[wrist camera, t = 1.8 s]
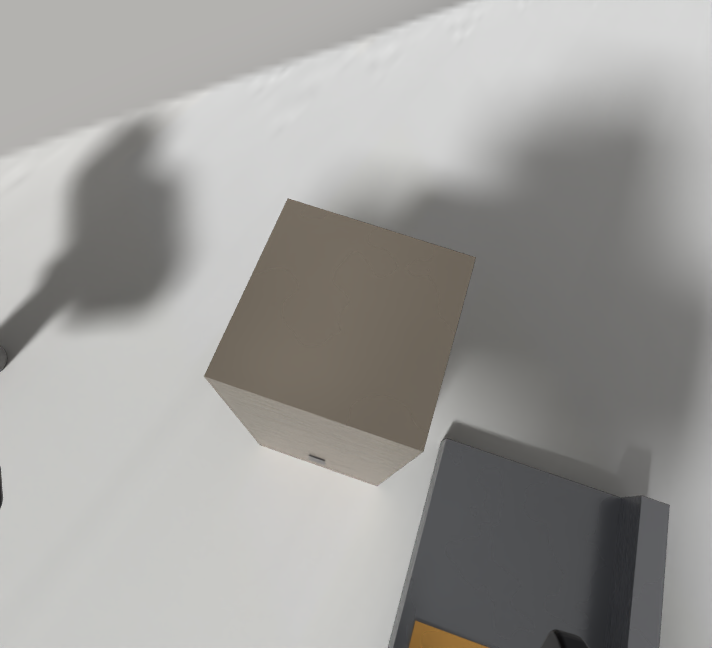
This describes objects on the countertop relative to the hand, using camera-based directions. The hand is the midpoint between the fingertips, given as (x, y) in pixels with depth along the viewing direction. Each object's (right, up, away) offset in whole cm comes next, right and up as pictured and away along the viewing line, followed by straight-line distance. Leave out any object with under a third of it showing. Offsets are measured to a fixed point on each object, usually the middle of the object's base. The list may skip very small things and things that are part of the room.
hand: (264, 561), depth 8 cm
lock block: (+1, 0, +13) cm, 13 cm away
